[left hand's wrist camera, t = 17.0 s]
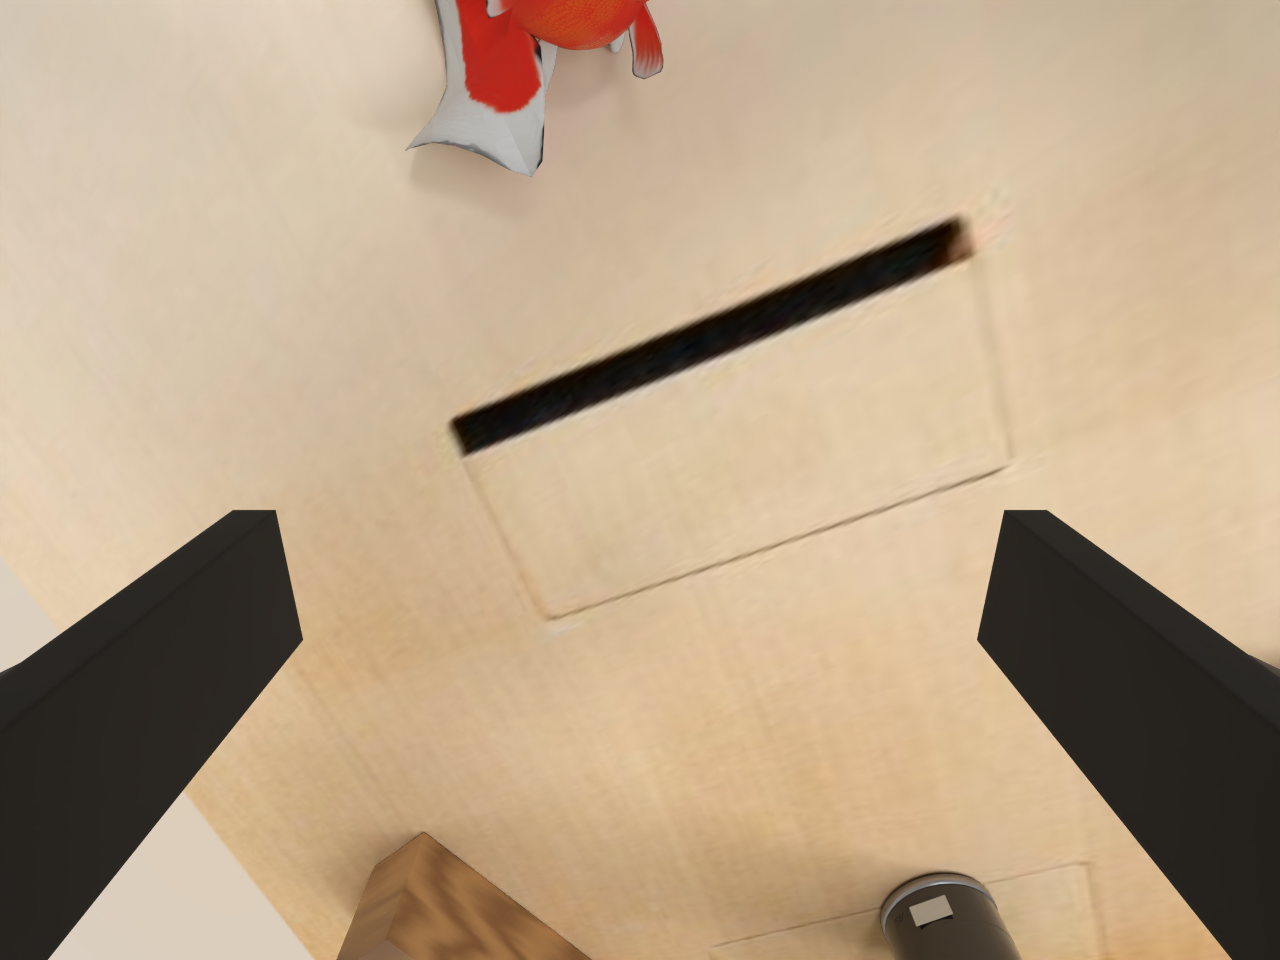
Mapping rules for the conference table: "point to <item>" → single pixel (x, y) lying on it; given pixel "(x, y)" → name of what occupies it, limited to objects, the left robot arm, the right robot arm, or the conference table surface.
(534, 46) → the fish
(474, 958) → the bar
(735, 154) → the conference table surface
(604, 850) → the conference table surface
